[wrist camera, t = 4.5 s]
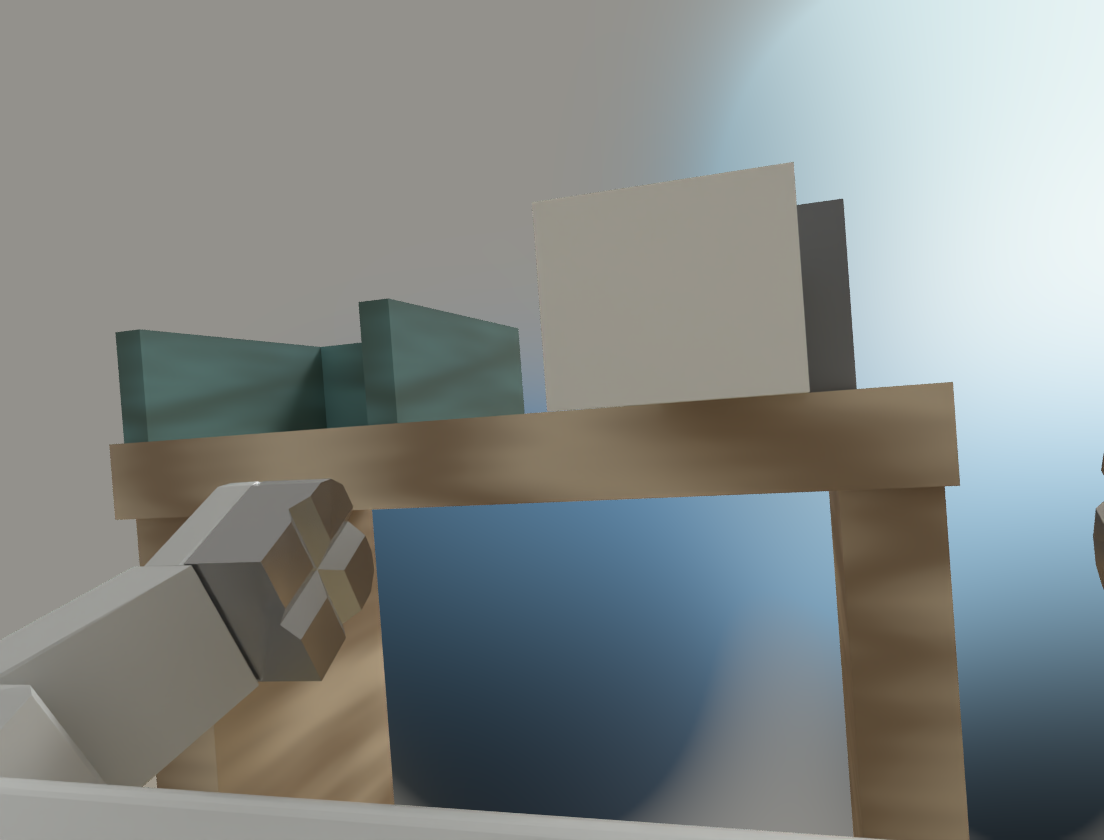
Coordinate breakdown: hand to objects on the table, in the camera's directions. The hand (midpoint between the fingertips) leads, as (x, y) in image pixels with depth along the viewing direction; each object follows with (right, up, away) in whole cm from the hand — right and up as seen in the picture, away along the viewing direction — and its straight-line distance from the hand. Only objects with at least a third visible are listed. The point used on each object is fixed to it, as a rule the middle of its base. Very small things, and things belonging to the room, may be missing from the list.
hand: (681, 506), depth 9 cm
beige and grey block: (+2, +1, +8) cm, 8 cm away
